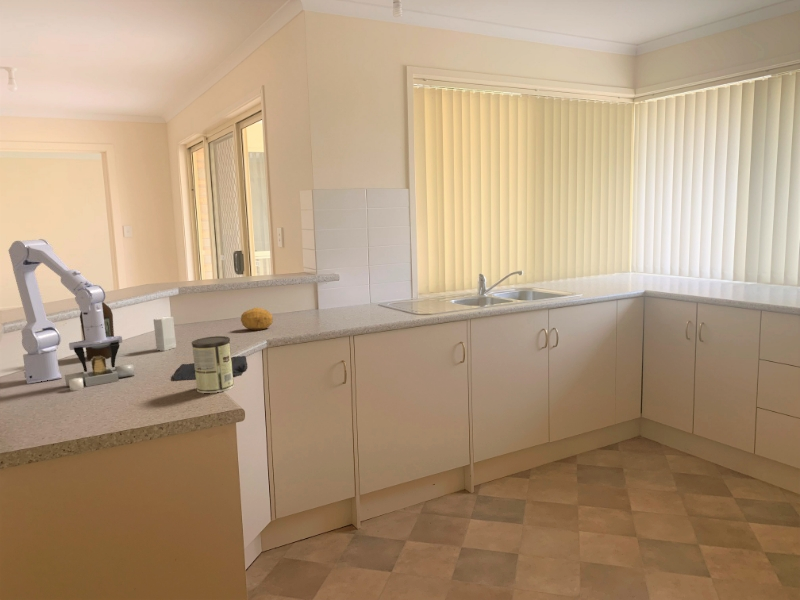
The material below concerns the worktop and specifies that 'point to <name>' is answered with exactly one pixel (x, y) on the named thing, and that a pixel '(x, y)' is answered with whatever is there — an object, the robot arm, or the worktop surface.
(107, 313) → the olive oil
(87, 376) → the fitting socket
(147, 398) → the worktop surface
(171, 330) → the skincare box
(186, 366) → the dark slate chunk
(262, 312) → the potato
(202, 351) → the coffee can
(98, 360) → the gold metal cylinder
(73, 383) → the pipe cap
